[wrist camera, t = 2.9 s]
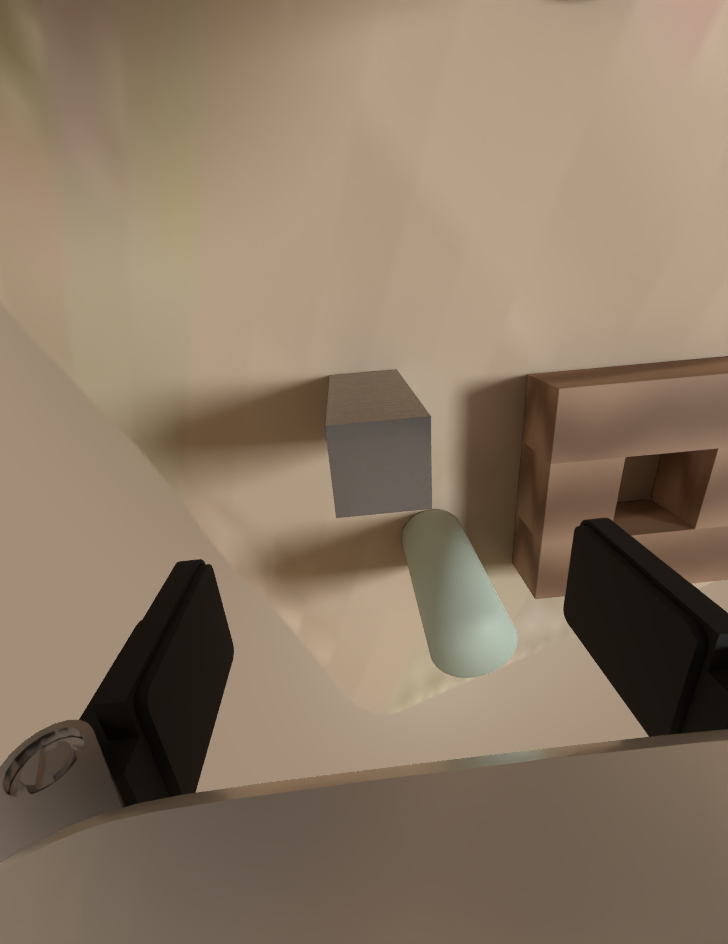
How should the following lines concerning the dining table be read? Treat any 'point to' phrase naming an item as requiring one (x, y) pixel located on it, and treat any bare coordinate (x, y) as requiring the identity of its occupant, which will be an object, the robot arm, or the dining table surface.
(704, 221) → the dining table surface
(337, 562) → the dining table surface
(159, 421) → the dining table surface
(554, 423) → the socket block
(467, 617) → the round peg
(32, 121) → the dining table surface
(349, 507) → the square peg
